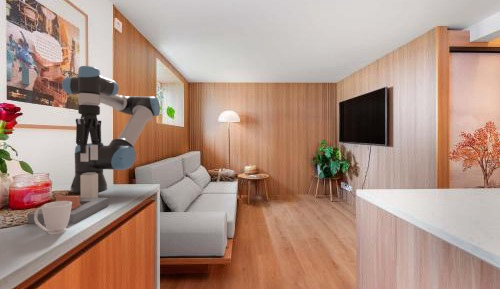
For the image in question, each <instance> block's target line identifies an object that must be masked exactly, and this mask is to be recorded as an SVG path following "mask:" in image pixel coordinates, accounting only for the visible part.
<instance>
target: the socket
mask: <svg viewBox="0 0 500 289" xmlns="http://www.w3.org/2000/svg"><path fill="white" fill-rule="evenodd" d="M80 204H81V206H79V207H77V208H75V209H73V210H71V212H70V218H69V222H68V225H73V224H76V223H78V222H80V221H82V220H84V219H86V218H88V217H89V216H91V215H93V214H95V213H97V212H99V211H101V210H103V209H105V208H106V207H108V206H109V197H98V198H81V197H80ZM35 211H36V210H34V211H32V212H30V213H27V217H26V218H27V224H36V223H35V220H34V215H35ZM37 219H38V221H39V223H40V224H41V225H45V222H44V217H43V213H42V209H40V210H39V211H38V216H37ZM36 225H37V224H36Z"/></svg>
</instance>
